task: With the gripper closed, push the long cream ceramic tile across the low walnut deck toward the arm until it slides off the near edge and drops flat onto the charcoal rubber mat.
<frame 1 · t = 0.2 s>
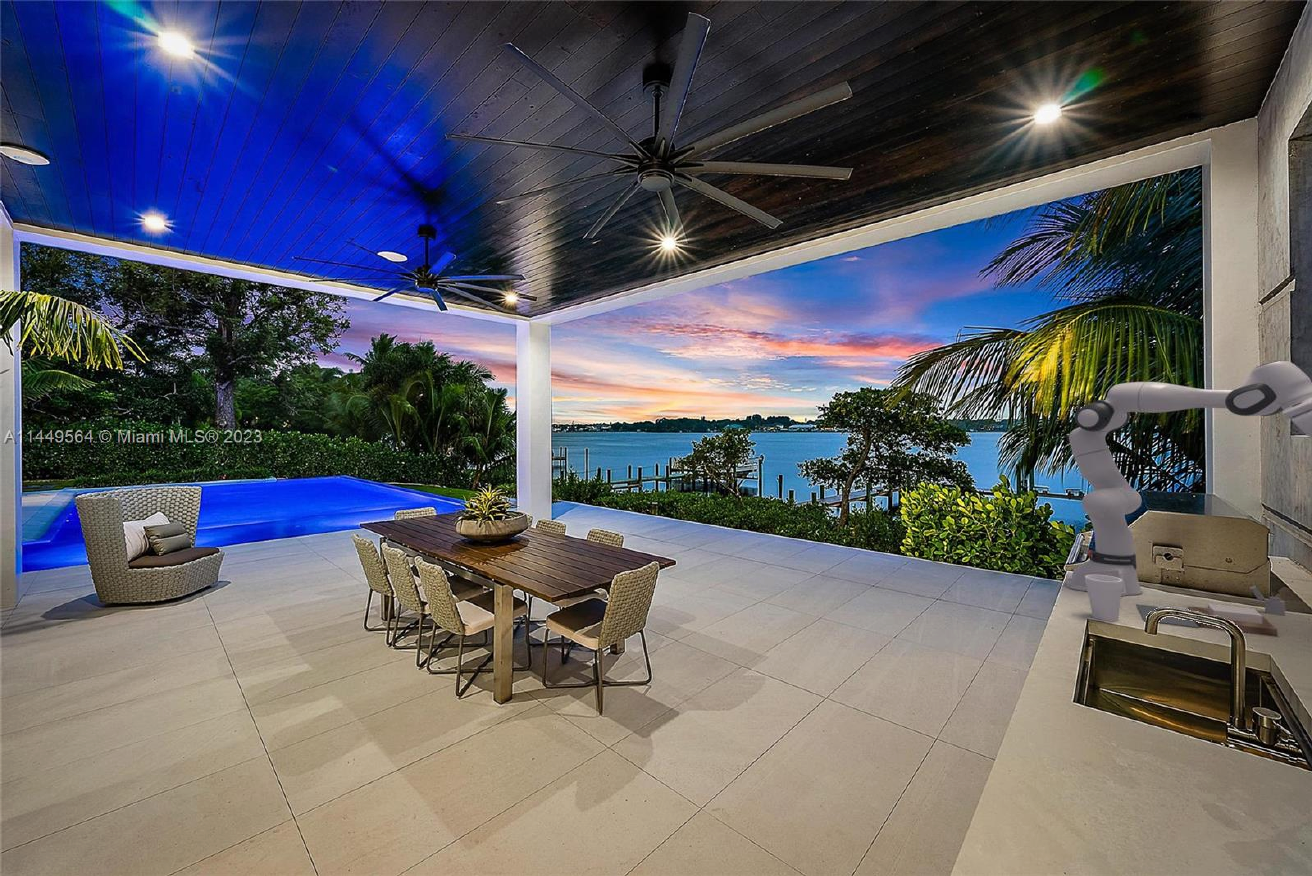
deck: (1229, 623, 161), on the worktop
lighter: (1268, 613, 168), on the worktop
tile: (1234, 617, 160), point 2 cm above the worktop, touching deck
mat: (1165, 616, 169), on the worktop
foam cup: (1105, 618, 171), on the worktop
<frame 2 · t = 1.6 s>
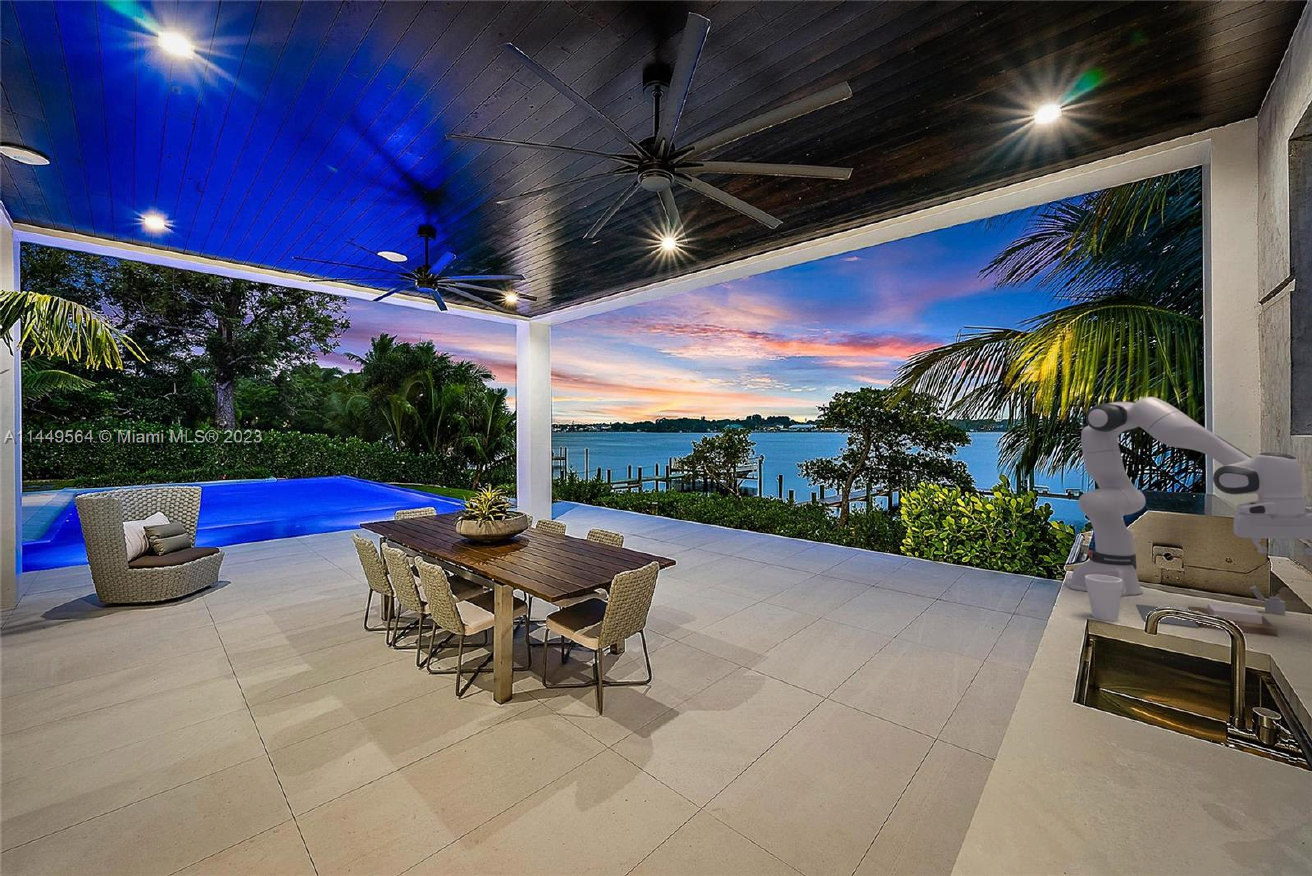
hand: (1286, 554, 153), 23 cm above the worktop, tool pointing down, fingers open, 8 cm apart
nothing on the worktop moved.
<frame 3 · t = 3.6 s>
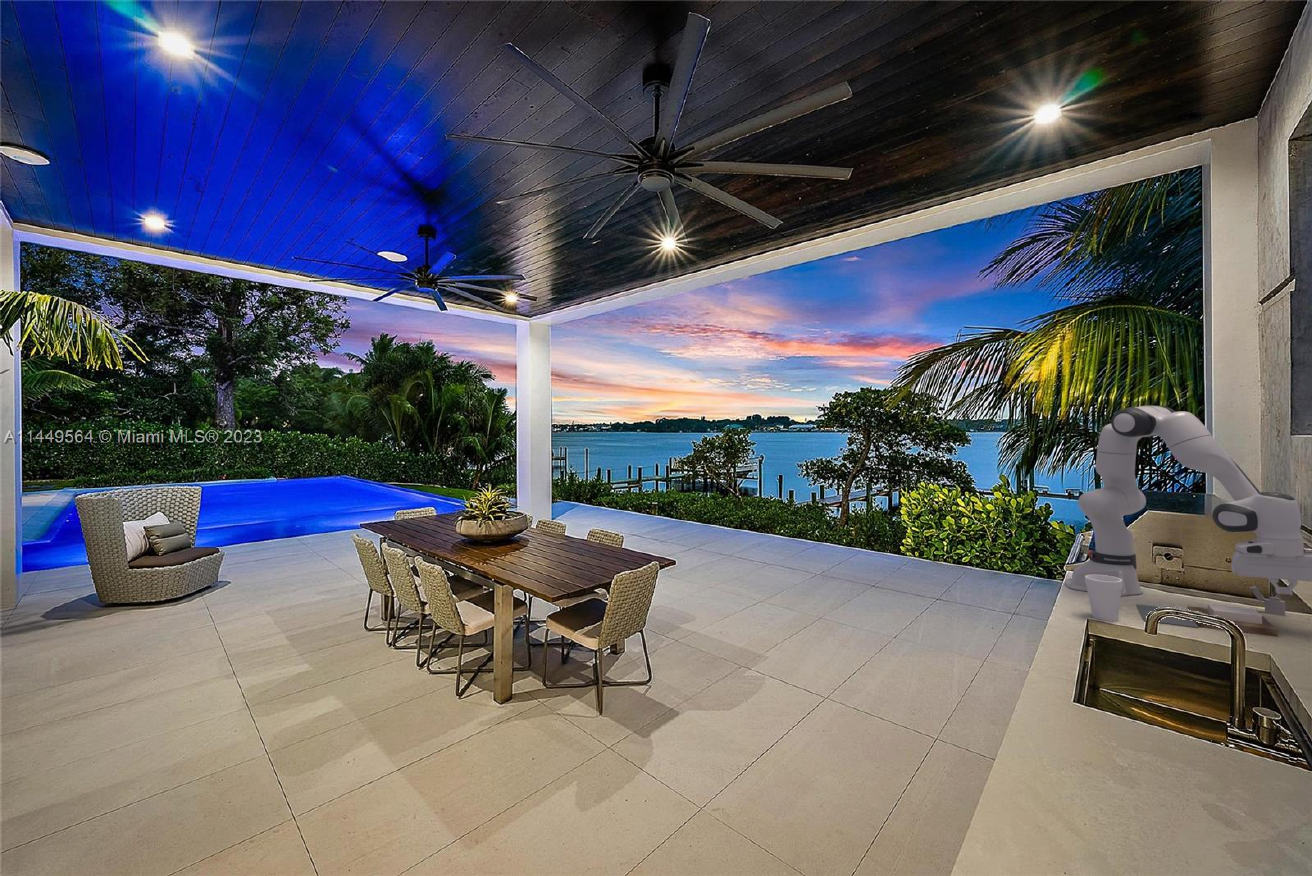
hand: (1284, 594, 154), 11 cm above the worktop, tool pointing down, fingers closed
nothing on the worktop moved.
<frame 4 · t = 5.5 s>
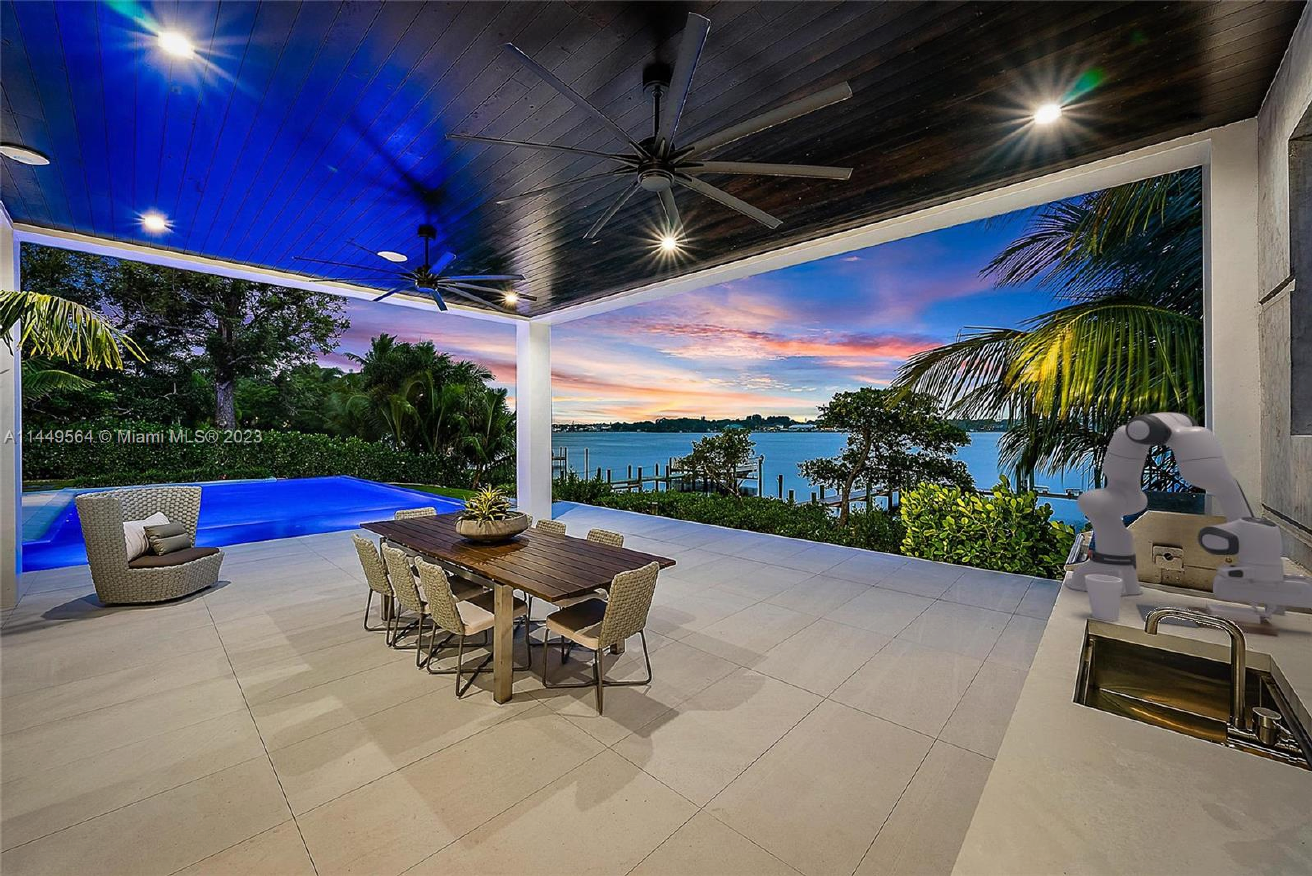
hand: (1263, 617, 156), 3 cm above the worktop, tool pointing down, fingers closed
tile: (1232, 617, 160), point 2 cm above the worktop, touching gripper
everything else where it was.
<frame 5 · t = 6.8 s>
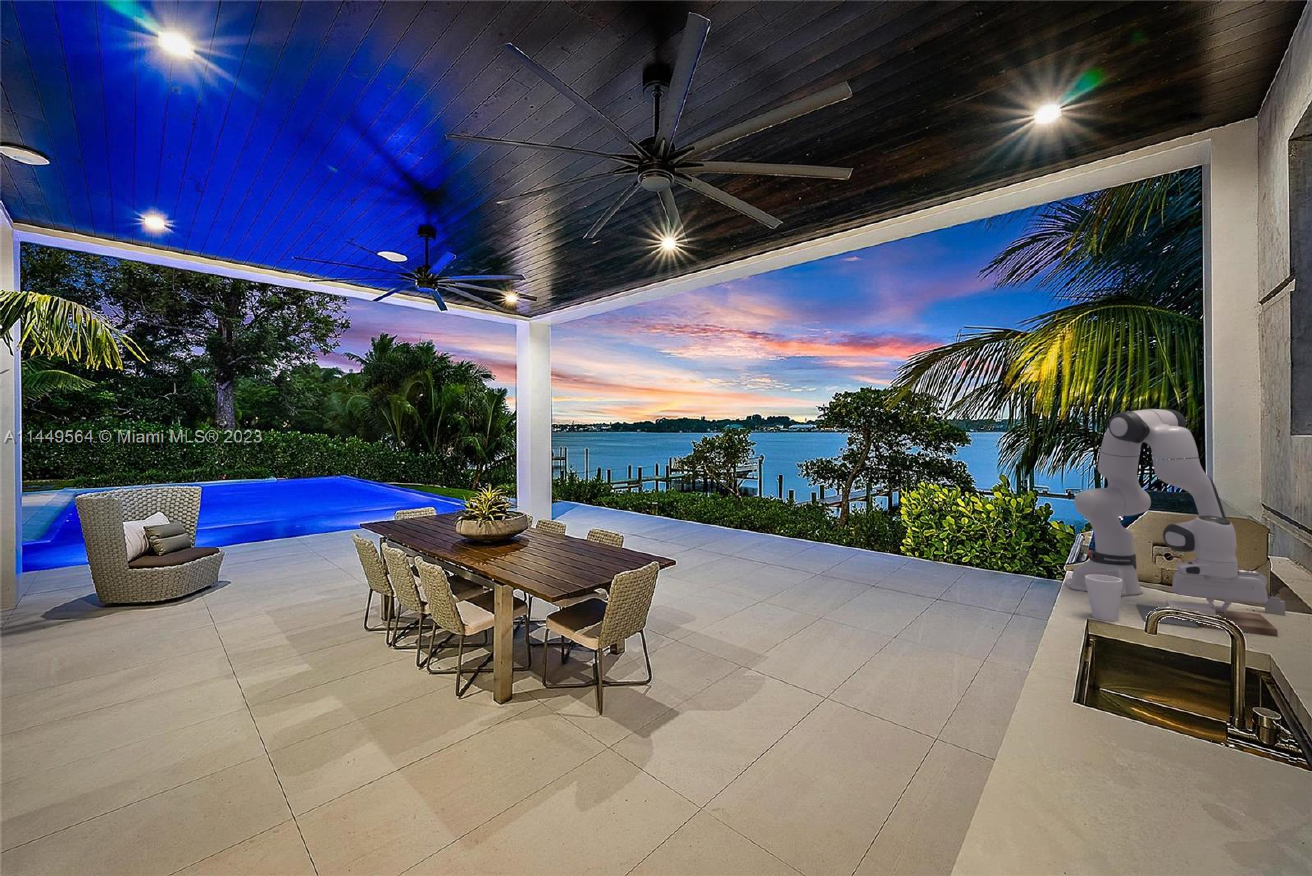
hand: (1219, 612, 162), 3 cm above the worktop, tool pointing down, fingers closed
tile: (1190, 612, 166), point 2 cm above the worktop, touching deck
everything else where it was.
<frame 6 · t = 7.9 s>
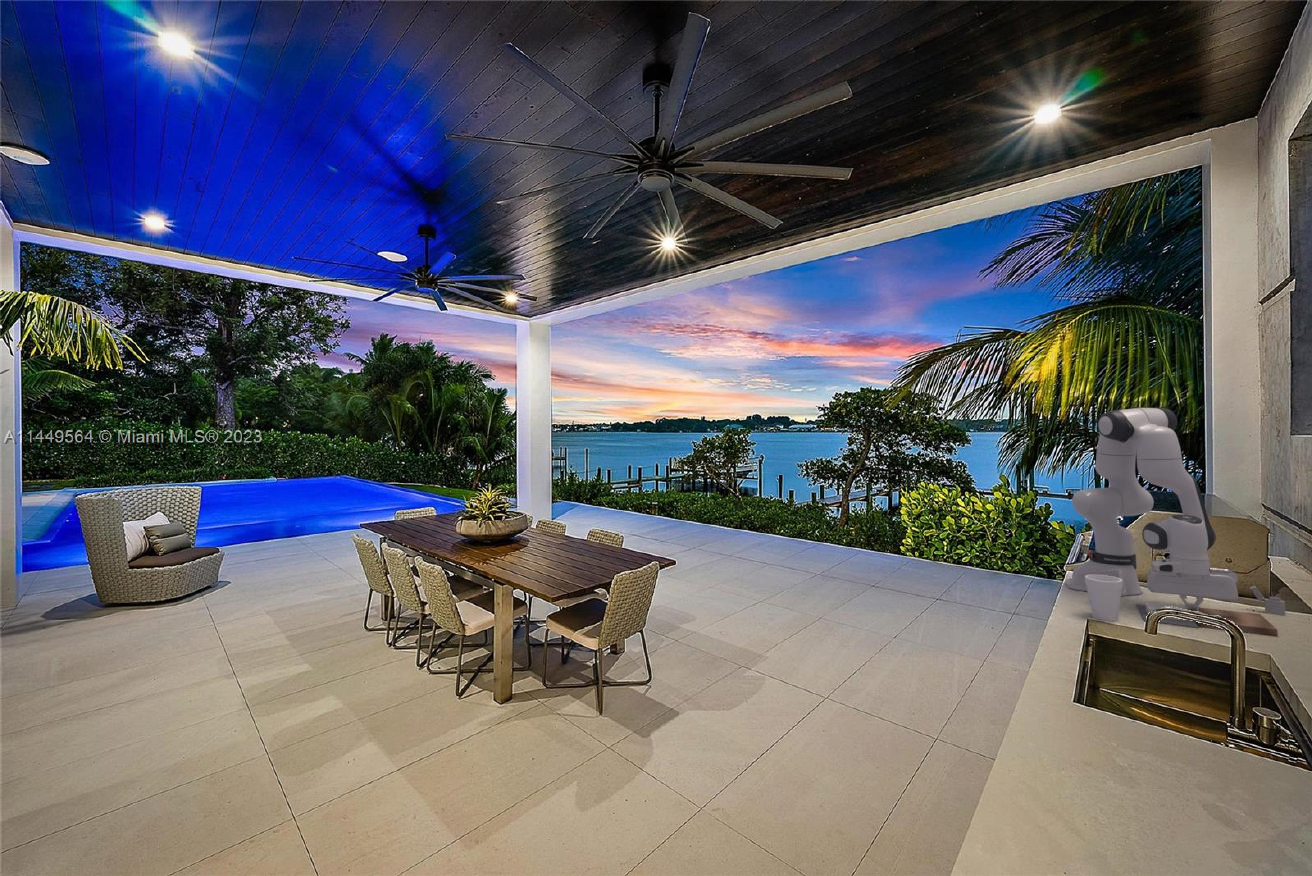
hand: (1191, 609, 166), 3 cm above the worktop, tool pointing down, fingers closed
tile: (1167, 615, 169), resting on mat
everything else where it was.
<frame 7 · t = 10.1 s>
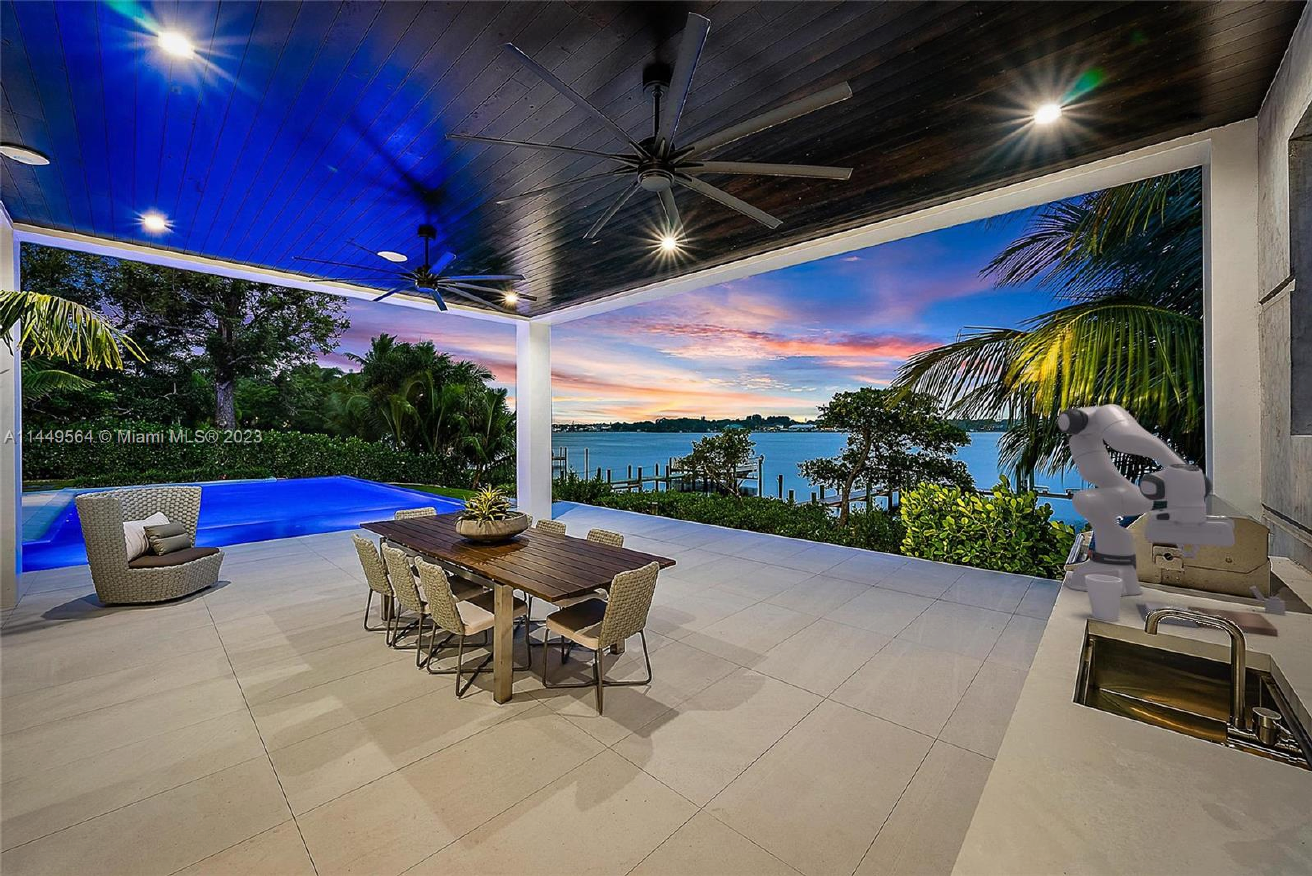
hand: (1188, 557, 166), 20 cm above the worktop, tool pointing down, fingers closed
nothing on the worktop moved.
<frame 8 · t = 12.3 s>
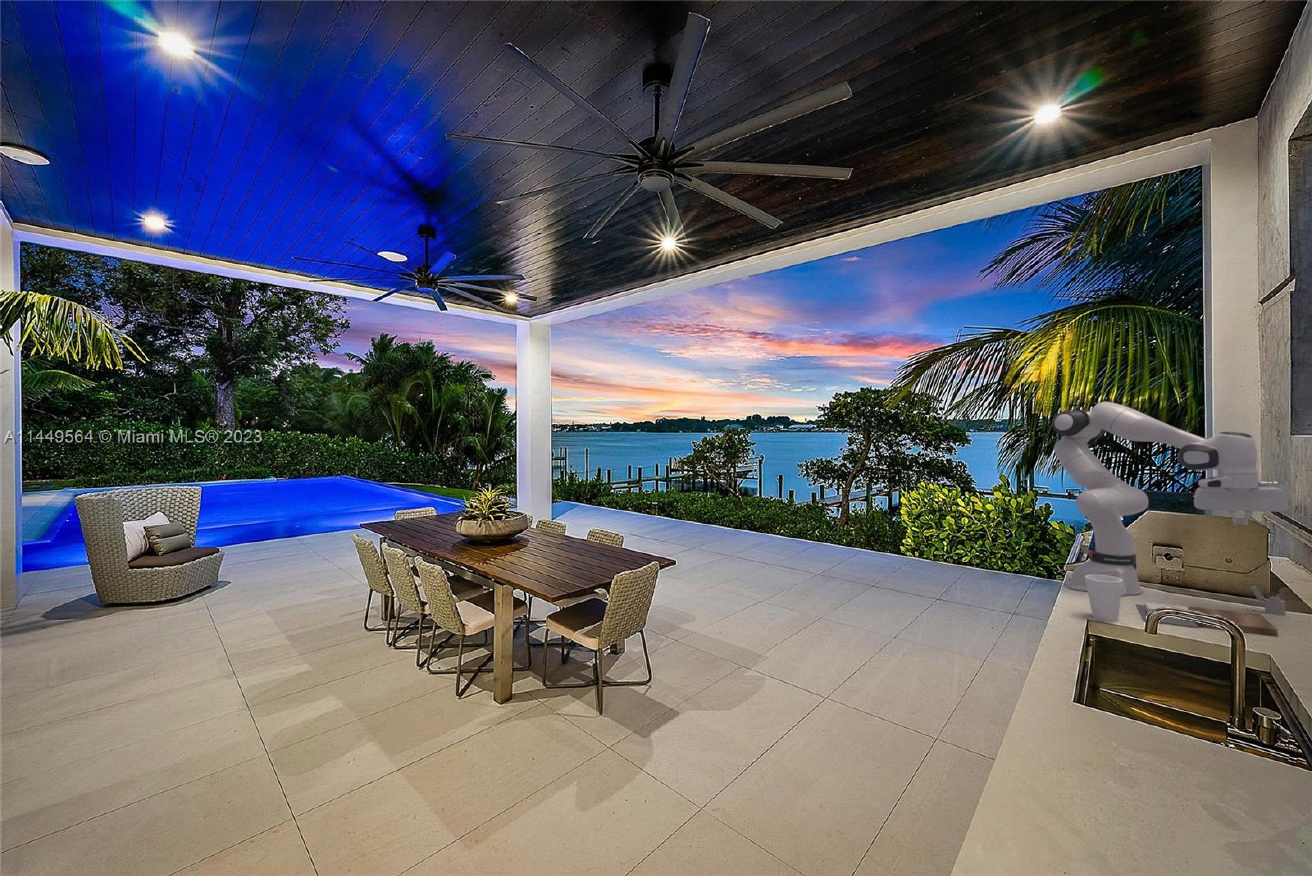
hand: (1240, 524, 167), 29 cm above the worktop, tool pointing down, fingers closed
nothing on the worktop moved.
at the end: tile inside the target area on the mat (0.7 cm from its centre), point 0.4 cm above the mat's base; tile resting on mat; tile tilted 0° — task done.
